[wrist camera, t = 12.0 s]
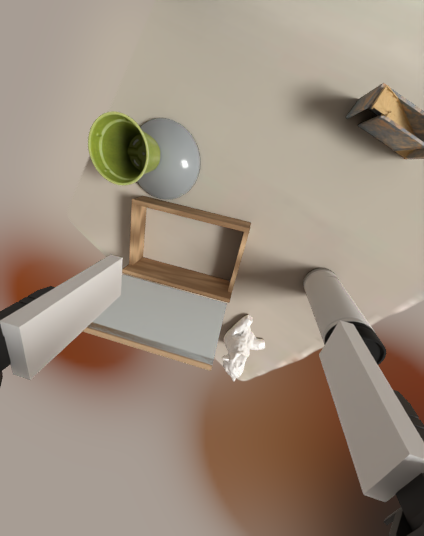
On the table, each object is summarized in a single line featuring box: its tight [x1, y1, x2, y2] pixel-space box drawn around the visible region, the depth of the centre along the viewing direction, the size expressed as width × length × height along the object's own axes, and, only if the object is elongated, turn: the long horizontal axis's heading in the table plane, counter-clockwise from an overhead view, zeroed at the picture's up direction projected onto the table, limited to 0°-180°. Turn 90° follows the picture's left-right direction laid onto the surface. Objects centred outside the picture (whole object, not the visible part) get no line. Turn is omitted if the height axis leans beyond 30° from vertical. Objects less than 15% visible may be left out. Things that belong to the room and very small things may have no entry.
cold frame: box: [122, 196, 251, 303], centre depth 44 cm, size 14×22×7 cm, turn 78°
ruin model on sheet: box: [346, 83, 424, 159], centre depth 30 cm, size 11×3×10 cm, turn 60°
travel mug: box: [303, 268, 386, 365], centre depth 36 cm, size 6×7×20 cm
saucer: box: [133, 118, 200, 199], centre depth 41 cm, size 13×13×1 cm
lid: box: [83, 274, 227, 371], centre depth 38 cm, size 14×21×1 cm
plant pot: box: [88, 111, 160, 185], centre depth 36 cm, size 9×9×9 cm
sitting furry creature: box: [222, 315, 265, 381], centre depth 49 cm, size 10×9×12 cm
